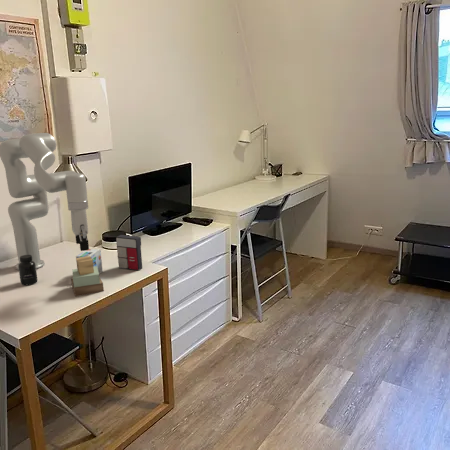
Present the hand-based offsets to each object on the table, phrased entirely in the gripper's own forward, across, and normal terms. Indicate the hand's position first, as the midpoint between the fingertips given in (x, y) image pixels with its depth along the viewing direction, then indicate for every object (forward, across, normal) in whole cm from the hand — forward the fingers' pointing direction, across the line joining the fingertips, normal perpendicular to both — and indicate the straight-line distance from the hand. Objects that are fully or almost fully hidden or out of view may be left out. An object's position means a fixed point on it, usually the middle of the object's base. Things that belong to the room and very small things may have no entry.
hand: (82, 246), depth 184 cm
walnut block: (+19, 0, 0) cm, 19 cm away
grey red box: (+19, -14, +22) cm, 32 cm away
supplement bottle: (+19, -19, -21) cm, 34 cm away
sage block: (+15, 0, 0) cm, 15 cm away
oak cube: (+11, 0, 0) cm, 11 cm away
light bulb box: (+19, -14, +4) cm, 24 cm away
